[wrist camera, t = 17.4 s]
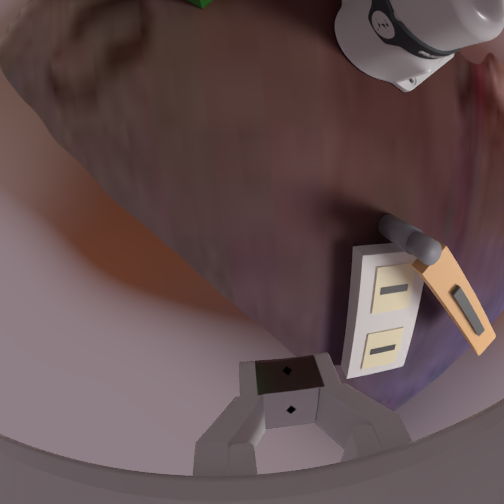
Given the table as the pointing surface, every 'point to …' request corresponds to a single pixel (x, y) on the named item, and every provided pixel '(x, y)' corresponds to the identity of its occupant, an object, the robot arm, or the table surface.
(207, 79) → the table surface
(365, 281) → the two-drawer filing cabinet
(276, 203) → the table surface
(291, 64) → the table surface
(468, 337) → the light wooden bar
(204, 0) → the hardback book
